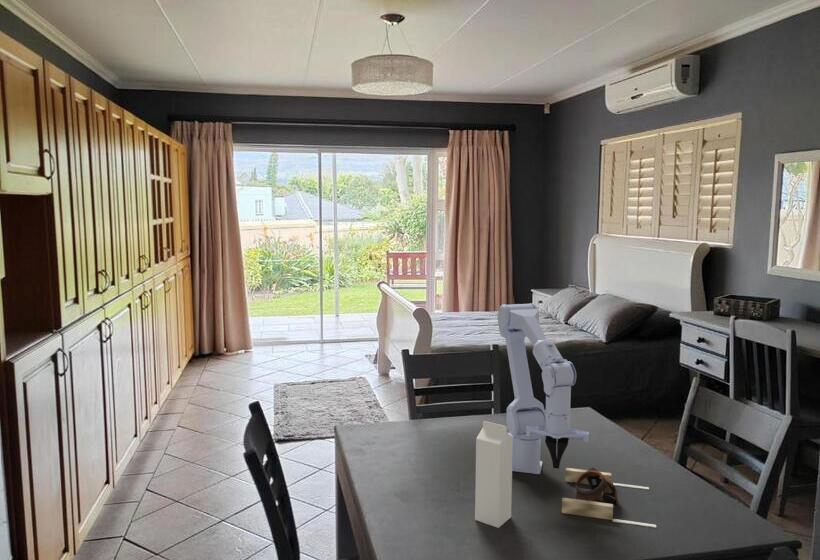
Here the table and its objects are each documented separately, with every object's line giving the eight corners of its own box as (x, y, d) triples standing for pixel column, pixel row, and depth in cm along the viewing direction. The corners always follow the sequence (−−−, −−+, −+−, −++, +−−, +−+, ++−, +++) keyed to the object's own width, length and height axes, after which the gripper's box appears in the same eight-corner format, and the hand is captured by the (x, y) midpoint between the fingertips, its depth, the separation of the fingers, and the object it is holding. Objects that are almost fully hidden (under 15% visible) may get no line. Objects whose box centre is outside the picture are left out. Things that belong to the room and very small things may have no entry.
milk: (488, 509, 140) (489, 416, 138) (511, 517, 137) (513, 422, 134) (474, 520, 135) (475, 424, 133) (498, 528, 132) (500, 430, 130)
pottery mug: (626, 513, 140) (613, 486, 137) (587, 526, 142) (573, 501, 140) (613, 478, 151) (600, 453, 149) (577, 491, 153) (564, 467, 151)
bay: (612, 521, 135) (612, 520, 135) (610, 483, 154) (610, 482, 154) (656, 527, 132) (656, 526, 132) (648, 488, 151) (648, 487, 151)
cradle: (561, 512, 139) (562, 500, 139) (565, 478, 156) (566, 467, 156) (612, 520, 136) (613, 507, 135) (610, 484, 153) (611, 473, 153)
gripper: (525, 414, 144) (524, 469, 146) (589, 420, 140) (587, 477, 141) (528, 405, 151) (527, 458, 152) (589, 411, 147) (587, 465, 148)
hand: (556, 466), depth 147 cm, fingers closed
